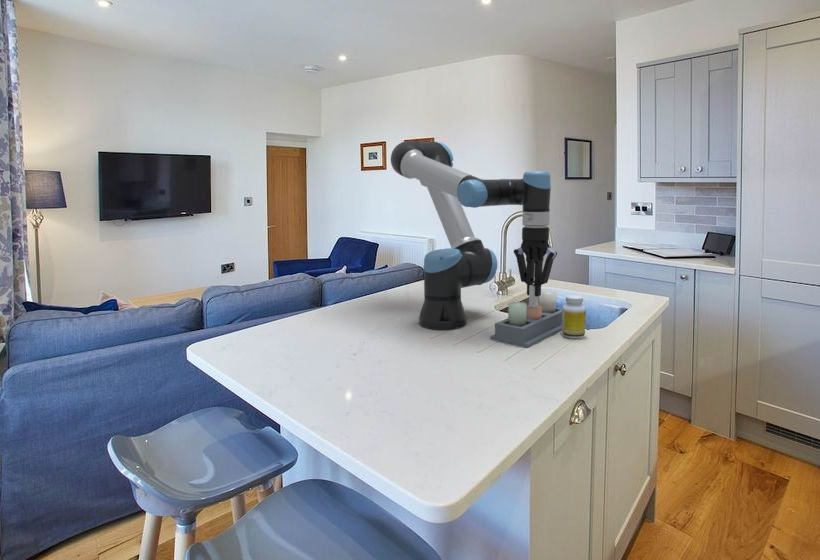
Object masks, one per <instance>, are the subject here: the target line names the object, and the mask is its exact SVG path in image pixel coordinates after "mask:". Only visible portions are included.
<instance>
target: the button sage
mask: <svg viewBox="0 0 820 560" xmlns="http://www.w3.org/2000/svg"><path fill="white" fill-rule="evenodd" d="M527 306H528V305H527V302H522V301H511V302H509V303H508V307H507V308H508V313H507V314H508V315H507V316H508V317H507V318H508V324H509V325H514V326H519V327H522V326H524V325H526V314H527Z"/></svg>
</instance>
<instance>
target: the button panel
mask: <svg viewBox="0 0 820 560" xmlns="http://www.w3.org/2000/svg"><path fill="white" fill-rule="evenodd" d="M561 331H562V307H561V308H560V307H556V312H554V313H552V314H551V313H545V312H542V318H541V319H538V320H535V319H529V318H526V325H524V326H522V327H519V326H514V325H509V324H508V317H507V318H505V319H503V320H500V321H498V322H495V323H494V334H492V335H490V336H489V340H492V341H495V342H501V343H503V344H504V343H505V344H510V345H513V346H519V347H523V348H526V349H527V348H530V347H533V346H535V345H536V344H539V343H541V342H542V341H544V340H546V339H548V338H550V337H552V336H554V335H556V334H558V333H561Z"/></svg>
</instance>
